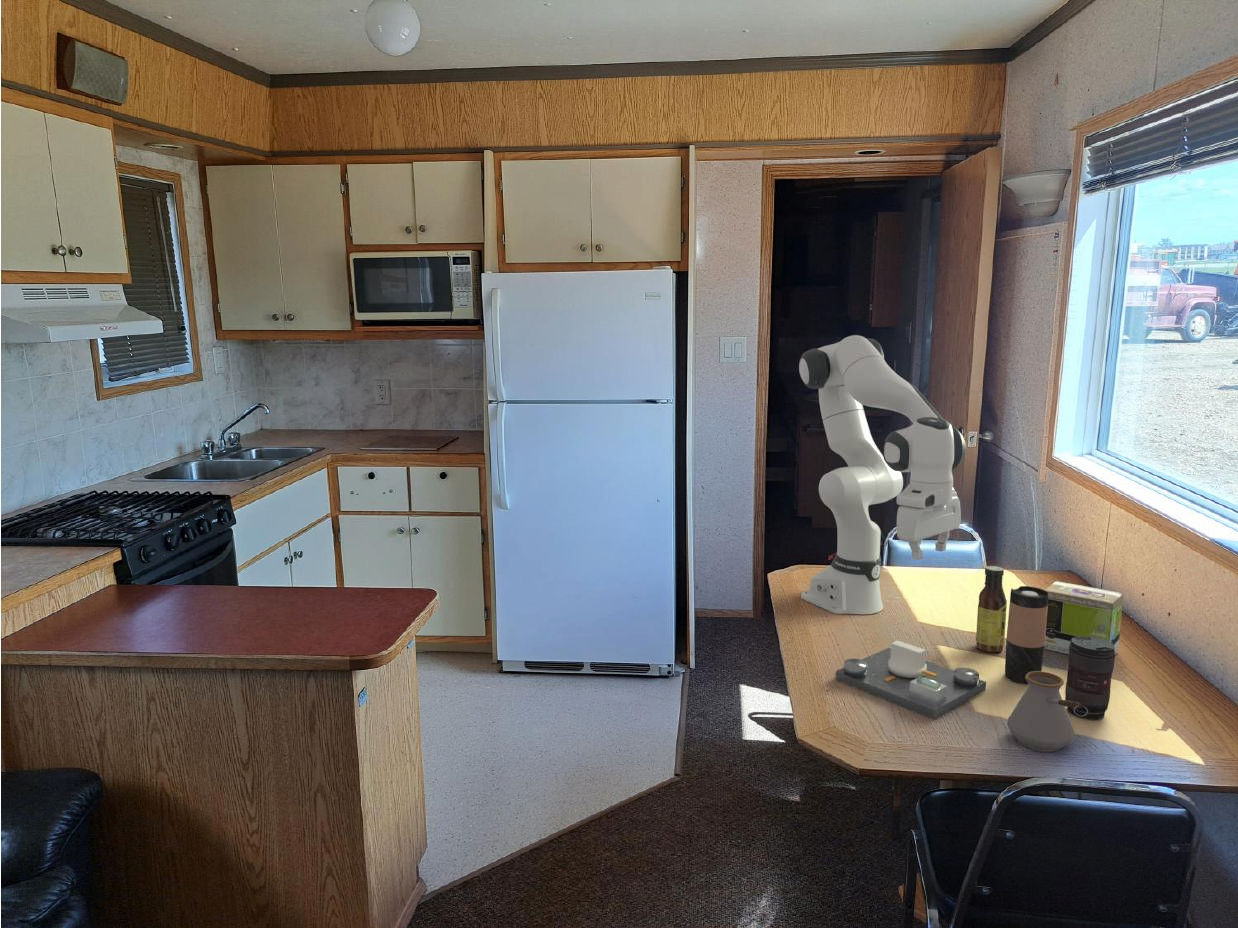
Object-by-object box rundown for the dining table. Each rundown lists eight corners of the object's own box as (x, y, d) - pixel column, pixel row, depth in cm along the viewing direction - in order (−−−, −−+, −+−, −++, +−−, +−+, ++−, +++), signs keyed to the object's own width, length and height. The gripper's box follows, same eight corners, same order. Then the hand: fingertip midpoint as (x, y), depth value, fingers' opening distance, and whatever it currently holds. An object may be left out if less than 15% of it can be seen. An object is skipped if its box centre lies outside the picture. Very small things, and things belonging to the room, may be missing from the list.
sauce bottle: (1006, 654, 204) (1012, 573, 200) (978, 652, 205) (983, 572, 202) (1000, 643, 211) (1006, 565, 207) (972, 642, 212) (978, 563, 208)
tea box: (1118, 651, 205) (1125, 592, 202) (1107, 665, 198) (1114, 603, 195) (1050, 635, 215) (1055, 578, 212) (1037, 648, 208) (1042, 589, 205)
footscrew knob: (880, 669, 192) (881, 645, 191) (901, 659, 197) (902, 636, 196) (925, 685, 184) (927, 661, 182) (946, 675, 188) (947, 651, 187)
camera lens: (1118, 718, 173) (1125, 647, 170) (1085, 724, 171) (1092, 652, 168) (1086, 700, 181) (1092, 632, 178) (1054, 706, 179) (1060, 637, 176)
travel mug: (1043, 687, 187) (1051, 599, 183) (1004, 682, 190) (1011, 595, 186) (1039, 673, 194) (1047, 587, 190) (1002, 668, 197) (1009, 584, 193)
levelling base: (835, 679, 192) (836, 654, 191) (888, 655, 204) (889, 631, 203) (934, 719, 174) (935, 691, 172) (985, 690, 186) (987, 664, 185)
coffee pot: (997, 725, 171) (1003, 653, 168) (1058, 727, 170) (1064, 655, 167) (1039, 785, 150) (1047, 705, 147) (1109, 788, 149) (1118, 707, 146)
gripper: (943, 484, 198) (941, 543, 200) (891, 497, 185) (890, 560, 187) (969, 488, 193) (967, 548, 195) (918, 501, 180) (916, 566, 183)
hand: (929, 554), depth 191 cm, fingers open, 8 cm apart
